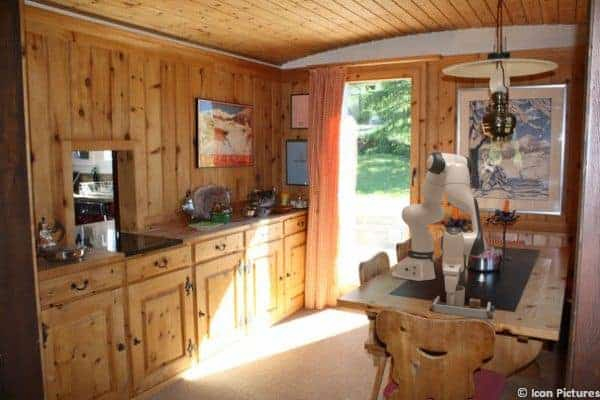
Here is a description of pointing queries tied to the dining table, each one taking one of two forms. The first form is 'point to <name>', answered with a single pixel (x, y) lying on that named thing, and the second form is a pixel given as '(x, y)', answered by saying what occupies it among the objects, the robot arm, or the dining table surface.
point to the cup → (456, 297)
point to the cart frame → (461, 310)
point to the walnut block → (474, 304)
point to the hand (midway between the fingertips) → (452, 296)
